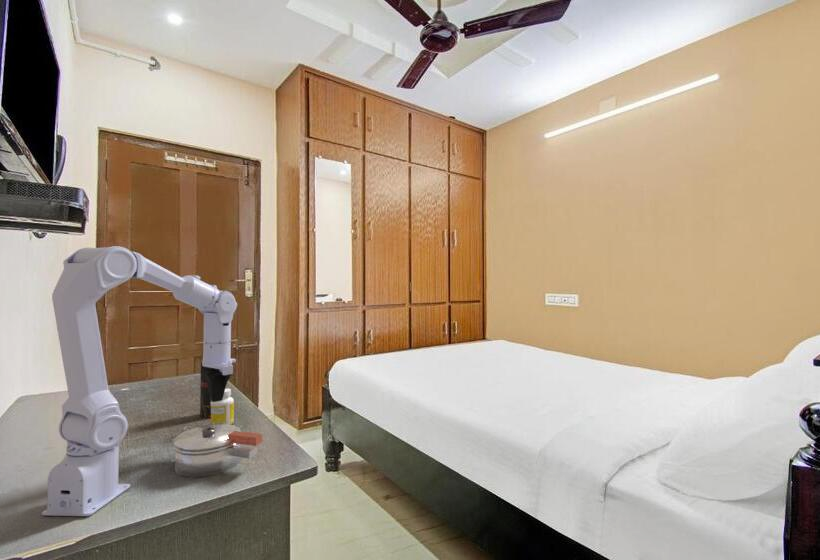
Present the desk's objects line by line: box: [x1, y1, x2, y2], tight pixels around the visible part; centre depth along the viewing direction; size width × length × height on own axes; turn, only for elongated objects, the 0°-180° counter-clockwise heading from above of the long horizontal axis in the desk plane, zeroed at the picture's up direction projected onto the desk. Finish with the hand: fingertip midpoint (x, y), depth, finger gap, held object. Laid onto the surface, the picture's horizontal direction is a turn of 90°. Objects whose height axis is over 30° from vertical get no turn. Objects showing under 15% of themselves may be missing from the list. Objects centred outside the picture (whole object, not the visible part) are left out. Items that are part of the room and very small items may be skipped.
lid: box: [174, 424, 263, 451], centre depth 83 cm, size 18×12×2 cm
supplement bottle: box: [210, 388, 235, 426], centre depth 104 cm, size 5×5×10 cm
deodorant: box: [199, 361, 211, 419], centre depth 114 cm, size 6×6×15 cm
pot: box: [171, 437, 258, 479], centre depth 83 cm, size 20×13×5 cm, turn 74°
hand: (216, 400), depth 92 cm, fingers closed
